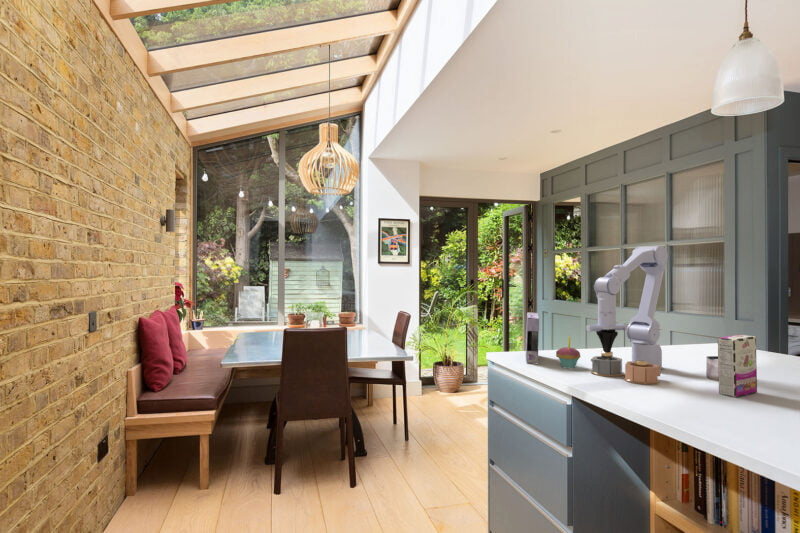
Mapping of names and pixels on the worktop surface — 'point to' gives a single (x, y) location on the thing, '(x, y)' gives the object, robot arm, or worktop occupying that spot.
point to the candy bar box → (737, 365)
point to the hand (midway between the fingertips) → (606, 352)
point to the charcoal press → (607, 366)
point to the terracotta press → (642, 373)
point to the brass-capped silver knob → (606, 355)
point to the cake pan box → (532, 337)
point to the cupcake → (568, 356)
